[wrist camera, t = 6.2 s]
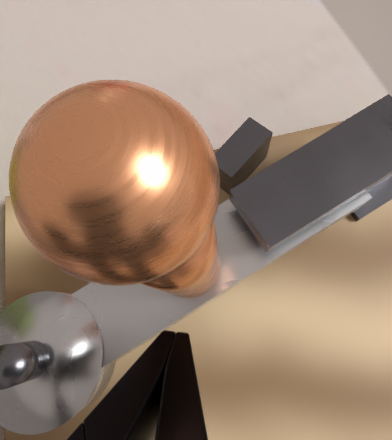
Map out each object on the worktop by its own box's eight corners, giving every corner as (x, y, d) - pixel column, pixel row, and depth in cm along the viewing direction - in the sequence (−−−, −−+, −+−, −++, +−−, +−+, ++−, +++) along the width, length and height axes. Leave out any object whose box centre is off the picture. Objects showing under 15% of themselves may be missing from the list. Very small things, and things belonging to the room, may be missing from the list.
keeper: (265, 278, 15) (281, 264, 10) (195, 173, 17) (183, 124, 12) (421, 181, 15) (497, 129, 11) (334, 90, 17) (370, 16, 13)
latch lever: (30, 444, 13) (-1137, 1218, 2) (-8, 331, 14) (-768, 391, 3) (371, 227, 14) (890, -83, 3) (301, 144, 16) (475, -257, 5)
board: (645, 743, 10) (697, 796, 9) (25, 826, 11) (2, 884, 10) (374, 124, 18) (384, 112, 17) (18, 203, 19) (5, 196, 18)
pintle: (117, 387, 14) (64, 423, 10) (35, 403, 14) (-56, 446, 10) (108, 299, 15) (57, 294, 11) (33, 315, 15) (-49, 316, 11)
